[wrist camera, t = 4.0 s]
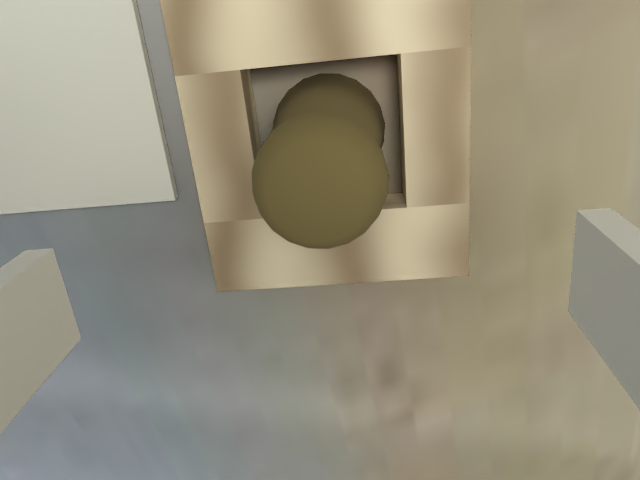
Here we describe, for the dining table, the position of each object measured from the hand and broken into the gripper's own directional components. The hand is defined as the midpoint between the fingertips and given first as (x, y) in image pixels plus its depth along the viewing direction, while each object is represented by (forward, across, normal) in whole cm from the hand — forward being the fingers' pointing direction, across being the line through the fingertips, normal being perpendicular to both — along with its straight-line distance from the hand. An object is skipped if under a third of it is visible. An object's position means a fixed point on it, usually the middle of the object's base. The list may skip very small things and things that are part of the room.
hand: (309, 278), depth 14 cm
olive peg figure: (+17, 0, 0) cm, 17 cm away
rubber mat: (+17, -15, +3) cm, 23 cm away
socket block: (+17, 0, 0) cm, 17 cm away
